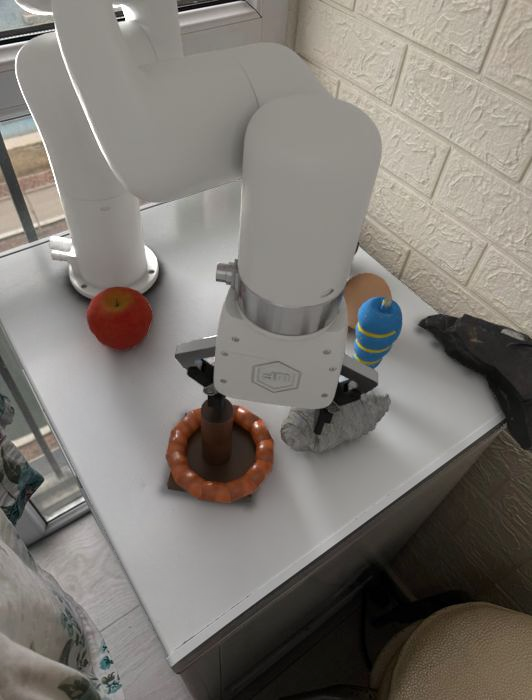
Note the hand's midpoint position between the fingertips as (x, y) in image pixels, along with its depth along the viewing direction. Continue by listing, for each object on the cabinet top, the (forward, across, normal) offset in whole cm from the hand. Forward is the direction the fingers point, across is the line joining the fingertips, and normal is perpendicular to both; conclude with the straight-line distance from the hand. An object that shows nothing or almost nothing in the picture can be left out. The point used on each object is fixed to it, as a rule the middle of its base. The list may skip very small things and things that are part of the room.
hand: (268, 414), depth 49 cm
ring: (+8, -4, 0) cm, 9 cm away
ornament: (+11, +11, +14) cm, 21 cm away
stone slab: (+11, +29, +18) cm, 36 cm away
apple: (+11, -20, +15) cm, 27 cm away
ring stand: (+10, -5, 0) cm, 12 cm away
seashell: (+11, +8, +6) cm, 15 cm away
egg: (+11, +11, +24) cm, 28 cm away
